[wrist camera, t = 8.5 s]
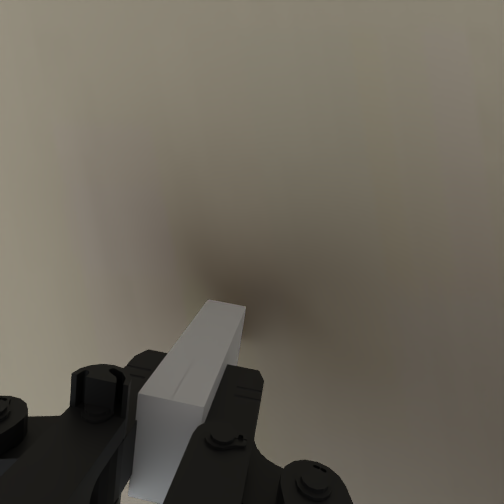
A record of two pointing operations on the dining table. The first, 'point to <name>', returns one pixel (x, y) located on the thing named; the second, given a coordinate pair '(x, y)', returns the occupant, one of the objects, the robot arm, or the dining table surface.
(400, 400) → the dining table surface
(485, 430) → the dining table surface
